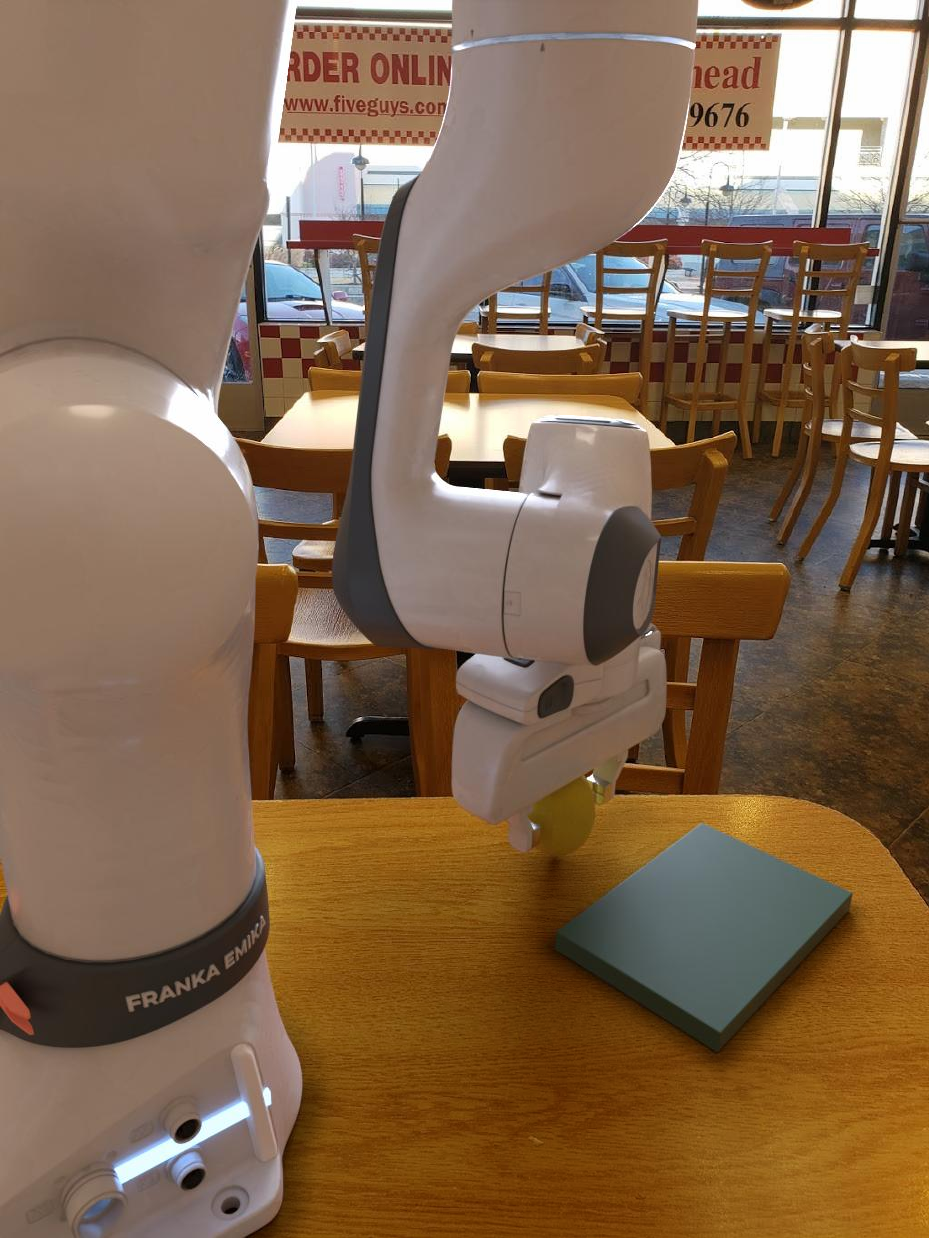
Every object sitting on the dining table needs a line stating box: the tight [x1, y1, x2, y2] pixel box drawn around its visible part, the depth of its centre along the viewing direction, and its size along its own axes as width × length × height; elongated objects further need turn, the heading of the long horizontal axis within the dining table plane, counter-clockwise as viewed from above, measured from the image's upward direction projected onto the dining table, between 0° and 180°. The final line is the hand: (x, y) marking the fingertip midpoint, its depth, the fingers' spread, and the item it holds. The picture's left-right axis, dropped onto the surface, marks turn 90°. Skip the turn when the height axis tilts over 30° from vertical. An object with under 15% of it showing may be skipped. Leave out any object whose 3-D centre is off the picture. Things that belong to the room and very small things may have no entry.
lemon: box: [527, 774, 596, 858], centre depth 70 cm, size 6×6×8 cm
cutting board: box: [554, 822, 853, 1053], centre depth 63 cm, size 18×12×2 cm, turn 136°
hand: (563, 821), depth 70 cm, fingers open, 7 cm apart
